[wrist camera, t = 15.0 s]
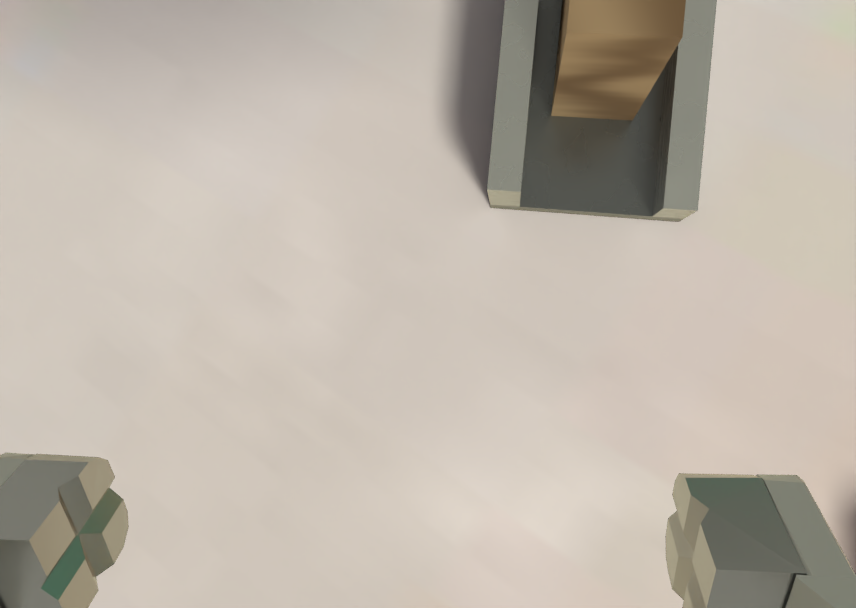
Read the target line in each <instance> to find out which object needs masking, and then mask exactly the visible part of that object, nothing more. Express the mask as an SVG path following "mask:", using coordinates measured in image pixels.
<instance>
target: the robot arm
mask: <svg viewBox="0 0 856 608" xmlns="http://www.w3.org/2000/svg"><path fill="white" fill-rule="evenodd" d="M114 478H115V476H114V473H113V471H112V469H111V466H110V464H109V462H108V460H106V459H102V458H99V457H86V456H68V455H49V454H35V455H34V454H18V453H4V454H2V455H0V608H88V607H89V605H90V603H91V602H92V600H93V598H94V597H95V595H96V593H97V592H98V585H97V579H96V576H98V575H99V574H100V573H102V572H103V571H105V570H106V569H108V568H109V567H110V566H112V565H113V564H114V563H115V561H116V560H117V558H118V556H119V554H120V552H121V551H122V549H123V547H124V543H125V539H126V535H127V531H128V527H129V526H128V511H127V509H126V506H125V503H124V500H123V499H122V498H121V497H120V496H119V495H118V494H116V493H115V492H114V491H113V490H112V489H110V488H109V487H110V486H111V484H112V482H113V480H114ZM672 495H673V499H674V502H675V506H676V509H677V511H676V512H675V513H674V514H673V515H671V516H670V517H669V518H668V522H667V529H666V536H665V538H666V561H667V568H668V574H669V578H670V582H671V586H672V589H673V590H674V591H675V592H676V593H677V594H678V595H679V596H680V597H681V598H682V599H683V600H684V602H683V607H682V608H856V574H855V573H854V571H853V569H852V567H851V565H850V564H849V562H848V560H847V558H846V556H845V555H844V553H843V551H842V549H841V547H840V546H839V544H838V542H837V540H836V538H835V537H834V535H833V533H832V531H831V529H830V527H829V526H828V524H827V522H826V520H825V518H824V517H823V515H822V513H821V511H820V509H819V508H818V506H817V504H816V502H815V500H814V499H813V497H812V495H811V493H810V491H809V490H808V488H807V486H806V484H805V482H804V481H803V480H802V479H801V478H800V477H798V476H797V475H756V476H754V475H736V474H686V473H679V474H678V476H677V478H676V480H675V483H674V488H673V494H672Z"/></svg>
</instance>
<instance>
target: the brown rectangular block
mask: <svg viewBox="0 0 856 608" xmlns="http://www.w3.org/2000/svg"><path fill="white" fill-rule="evenodd" d="M685 5H686V0H562V7H561V17H560V28H559V38H558V49H557V59H556V70H555V81H554V91H553V102H552V112H551V116H563V117H580V118H597V119H614V120H632V121H633V119H634V117H635V116H636V114H637V112H638V111H639V109H640V107H641V106H642V104H643V102H644V101H645V99H646V97H647V96H648V94H649V92H650V91H651V89H652V87H653V86H654V84H655V82H656V81H657V79H658V77H659V76H660V74H661V72H662V71H663V69H664V67H665V66H666V64H667V62H668V61H669V59H670V57H671V56H672V54H673V52H674V50H675V49H676V47H677V45H678V44H679V42H680V40H681V39H682V37H683V26H684V16H685Z"/></svg>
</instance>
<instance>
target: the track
mask: <svg viewBox="0 0 856 608" xmlns="http://www.w3.org/2000/svg"><path fill="white" fill-rule="evenodd" d="M716 2H717V0H686V5H685V16H684V26H683V37H682V39H681V40H680V42H679V44H678V45H677V47H676V49H675V50H674V52H673V54H672V56H671V57H670V59H669V61H668V62H667V64H666V66H665V67H664V69H663V71H662V72H661V74H660V76H659V77H658V79H657V81H656V82H655V84H654V86H653V87H652V89H651V91H650V92H649V94H648V96H647V97H646V99H645V101H644V102H643V104H642V106H641V107H640V109H639V111H638V112H637V114H636V116H635V117H634V119H633V121H632V120H614V119H597V118H580V117H563V116H551V112H552V102H553V91H554V81H555V70H556V59H557V49H558V38H559V28H560V17H561V7H562V0H505V5H504V15H503V26H502V37H501V47H500V58H499V68H498V79H497V89H496V100H495V111H494V121H493V132H492V142H491V153H490V164H489V174H488V185H487V192H488V197H489V202H490V207H491V208H501V209H514V210H527V211H541V212H554V213H568V214H581V215H594V216H608V217H621V218H634V219H648V220H661V221H675V222H679V221H681V220H683V219H684V218H686V217H688V216H690V215H691V214H693V213H695V212H696V211H698V200H699V189H700V178H701V167H702V156H703V145H704V134H705V123H706V112H707V101H708V90H709V79H710V68H711V57H712V46H713V35H714V24H715V13H716Z"/></svg>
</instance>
